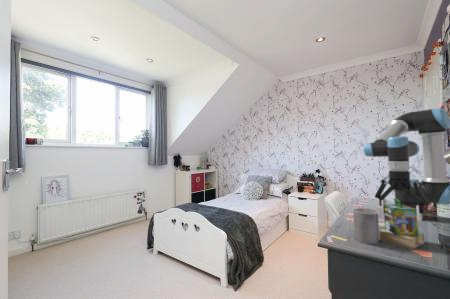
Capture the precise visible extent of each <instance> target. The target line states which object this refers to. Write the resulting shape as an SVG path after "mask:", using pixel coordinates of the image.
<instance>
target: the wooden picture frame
mask: <svg viewBox="0 0 450 299" xmlns="http://www.w3.org/2000/svg"><path fill="white" fill-rule="evenodd" d="M380 240H381V241H383V242H387V243H389V244H392V245H396V246H400V247H403V248H407V249H409V250H413V249H415V248H417V247H420V246H421V245H423V244H425V234H424V233H421V232H418V235H395V234H393V233H392V232H390V231H389V230H387V229H386V228H384V229H382V230H379V241H380Z"/></svg>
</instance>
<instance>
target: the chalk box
mask: <svg viewBox="0 0 450 299" xmlns="http://www.w3.org/2000/svg"><path fill="white" fill-rule="evenodd" d="M393 201H394V204H386V205H384V214H383V216H384V229H387V230H389V231H390V232H392V233H393V234H395V235H418V233H419V229H418V228H419V227H418V225H419V224H418V221H417V211H416V209H415V208H412V207H409V206H406V205H401V203H400V200H398V199H395V197H394V198H393ZM397 202H398V203H399V205H398V204H397Z"/></svg>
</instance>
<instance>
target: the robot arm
mask: <svg viewBox="0 0 450 299" xmlns="http://www.w3.org/2000/svg"><path fill="white" fill-rule="evenodd" d="M447 129H448V130H449V129H450V116H449V113H448V111H447V110H446V109H444V108H442V107H441V108H431V109H424V110H418V111H417V110H416V111H409V112H406V113H404V114H401V115H399V116H398V117H396V118H394V119H393V120H392V121H390V123H389V125H388V127H387V128H386V129H385V130H384V132H382V133H381V134H380V135H379V136H378V137H377V138H376V139H375V140H374V141H372V142H367V143H365V144H364V145H363V153H364V155H365V156H366V157H368V158H369V157H370V158H371V157H372V158H375V157H376V158H379V157H383V158H385V157H387V159H388V160H387V161H388V163H387V164H388V170H389V171H388V180H387V179H381V183H380V186H379V187H378V189H377V191H376V193H375V195H374V197H375V198H376V199H378V200H379V207H381V214H382V215H384V205H387V199H386V197H388V196H389V195H390V194H391V193H392V192H393V191H394V198H395V199H398V200H400V203H401V205H406V206H409V207H412V208H415V209H416V211H417V222H421V221H423V220H424V214H425V206H426V207H427V206H429V205H431V204H436V205H437V204H438V205H446V206H449V205H450V179H448V178H447V177H446V164H445V162H446V161H445V149H444V135H445V134H446V133H447ZM409 132H418V133H417V134H418V135H419V136H421V140H422V154H423V168H424V170H423V171H424V177H423V178H422V179H421V181H420V180H419V179H416V178H413V179H411V176H410V174H411V173H410V172H411V171H410V157H413V156H416V155H417V154H418V153H419V152H420V145H419V144H418V143H417V142H415V141H412V140H409V138H408V136H405V135H404V134H406V133H409ZM402 135H404V136H402ZM387 185H389V187H388V188H387V189H386V190H385V188H386V187H387ZM384 190H385V191H384ZM397 204H398V205H399V203H398V202H397Z"/></svg>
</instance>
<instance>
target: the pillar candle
mask: <svg viewBox="0 0 450 299" xmlns="http://www.w3.org/2000/svg"><path fill="white" fill-rule="evenodd" d="M353 230H354V231H353V233H354V234H353V235H354V240H355V241H356V242H358V243H361V244H364V245H378V244H380V232H379V231H380V228H379V212H378V210H375V209H370V208H367V207H365V208H363V207H361V208H360V207H359V208H354V209H353Z"/></svg>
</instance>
